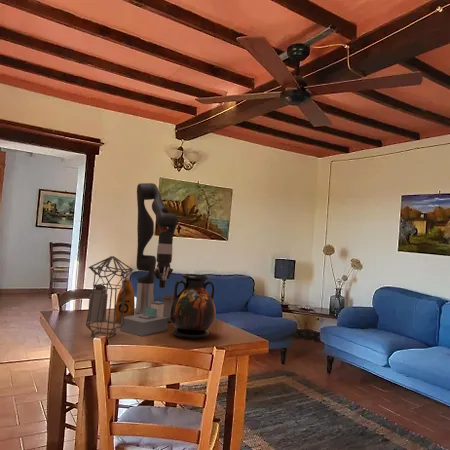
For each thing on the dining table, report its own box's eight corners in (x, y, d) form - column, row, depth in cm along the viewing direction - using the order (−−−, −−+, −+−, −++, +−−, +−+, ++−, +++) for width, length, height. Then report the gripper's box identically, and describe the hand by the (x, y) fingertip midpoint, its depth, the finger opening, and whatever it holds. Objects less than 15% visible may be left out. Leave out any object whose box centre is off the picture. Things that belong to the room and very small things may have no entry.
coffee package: (111, 323, 200) (115, 279, 201) (116, 318, 212) (119, 276, 213) (132, 324, 201) (135, 280, 202) (135, 319, 213) (138, 277, 214)
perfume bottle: (105, 319, 207) (108, 284, 208) (100, 322, 201) (103, 286, 201) (93, 318, 208) (96, 283, 209) (87, 321, 201) (90, 285, 202)
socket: (145, 325, 202) (146, 313, 202) (166, 330, 194) (167, 317, 194) (119, 330, 187) (120, 317, 187) (142, 336, 180) (143, 322, 180)
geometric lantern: (96, 330, 185) (104, 254, 187) (128, 334, 182) (136, 257, 184) (77, 337, 170) (87, 254, 171) (112, 342, 167) (121, 258, 168)
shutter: (146, 314, 197) (146, 307, 197) (157, 316, 193) (157, 309, 193) (136, 316, 191) (137, 308, 191) (147, 318, 188) (148, 310, 188)
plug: (155, 322, 210) (157, 301, 210) (162, 323, 208) (164, 302, 208) (149, 323, 206) (151, 301, 207) (156, 325, 204) (158, 303, 204)
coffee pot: (157, 322, 210) (159, 293, 210) (155, 318, 221) (157, 290, 221) (197, 323, 215) (199, 295, 215) (193, 318, 226) (195, 292, 226)
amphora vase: (171, 341, 174) (176, 276, 175) (165, 329, 195) (169, 271, 196) (219, 341, 180) (224, 278, 181) (208, 330, 201) (212, 273, 202)
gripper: (167, 252, 209) (164, 286, 208) (150, 252, 198) (147, 287, 197) (178, 253, 205) (176, 287, 204) (161, 253, 194) (158, 289, 193)
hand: (161, 287), depth 201 cm, fingers closed
